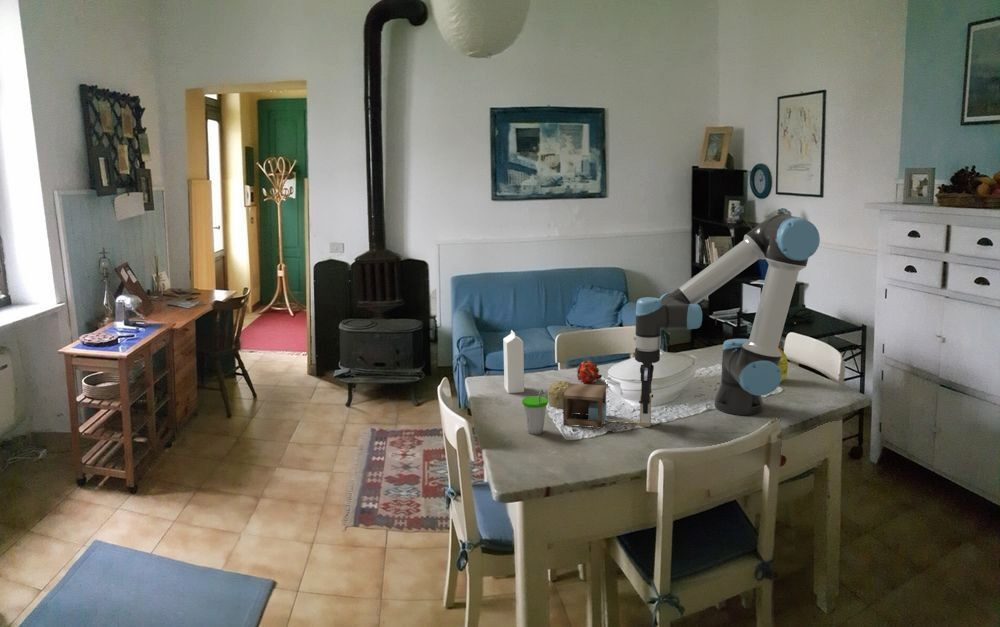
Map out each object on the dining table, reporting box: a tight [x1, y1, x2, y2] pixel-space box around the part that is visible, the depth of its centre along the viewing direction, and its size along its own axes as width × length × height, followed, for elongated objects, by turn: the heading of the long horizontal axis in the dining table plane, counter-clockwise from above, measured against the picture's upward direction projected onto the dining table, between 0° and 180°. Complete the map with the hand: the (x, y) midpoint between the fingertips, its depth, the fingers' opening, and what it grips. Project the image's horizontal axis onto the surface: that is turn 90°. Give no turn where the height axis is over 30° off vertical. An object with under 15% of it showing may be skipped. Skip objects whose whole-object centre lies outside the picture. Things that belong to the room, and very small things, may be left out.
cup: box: [521, 389, 549, 436], centre depth 213 cm, size 8×8×15 cm
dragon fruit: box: [576, 360, 603, 385], centre depth 258 cm, size 8×8×12 cm
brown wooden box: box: [562, 382, 607, 428], centre depth 222 cm, size 12×11×10 cm
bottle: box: [778, 342, 789, 382], centre depth 252 cm, size 12×6×20 cm, turn 102°
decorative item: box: [547, 380, 571, 409], centre depth 237 cm, size 10×10×10 cm
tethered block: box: [587, 392, 653, 428], centre depth 219 cm, size 19×5×10 cm, turn 75°
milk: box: [502, 329, 525, 394], centre depth 250 cm, size 6×6×22 cm
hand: (645, 419), depth 218 cm, fingers closed on tethered block, 3 cm apart
